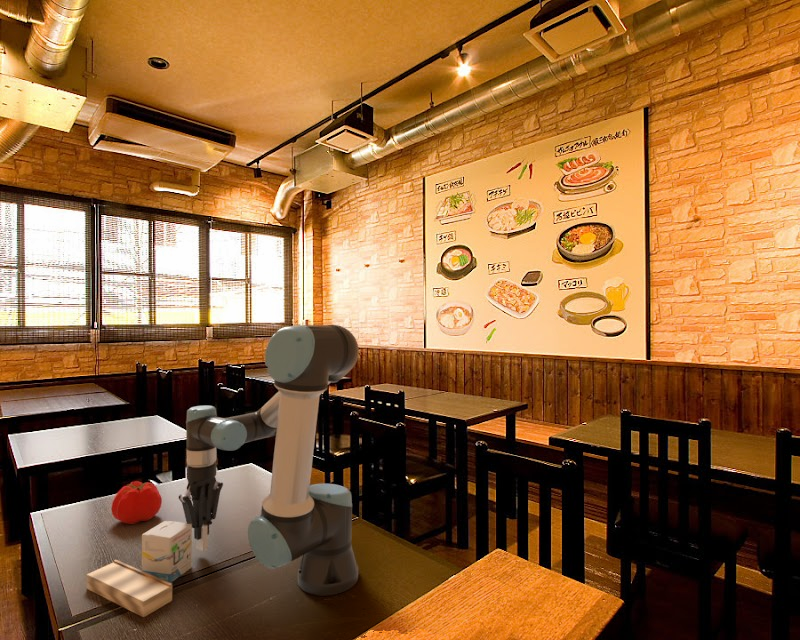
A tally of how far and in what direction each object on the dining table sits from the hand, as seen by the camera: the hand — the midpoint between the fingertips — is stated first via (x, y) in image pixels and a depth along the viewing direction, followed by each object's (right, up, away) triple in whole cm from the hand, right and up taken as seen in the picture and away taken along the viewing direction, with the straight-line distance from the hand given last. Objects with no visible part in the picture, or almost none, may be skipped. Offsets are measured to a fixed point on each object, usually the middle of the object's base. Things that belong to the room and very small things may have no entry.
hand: (201, 548), depth 129 cm
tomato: (-30, -2, +22) cm, 38 cm away
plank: (-10, -2, -18) cm, 20 cm away
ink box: (-5, -2, -8) cm, 10 cm away
